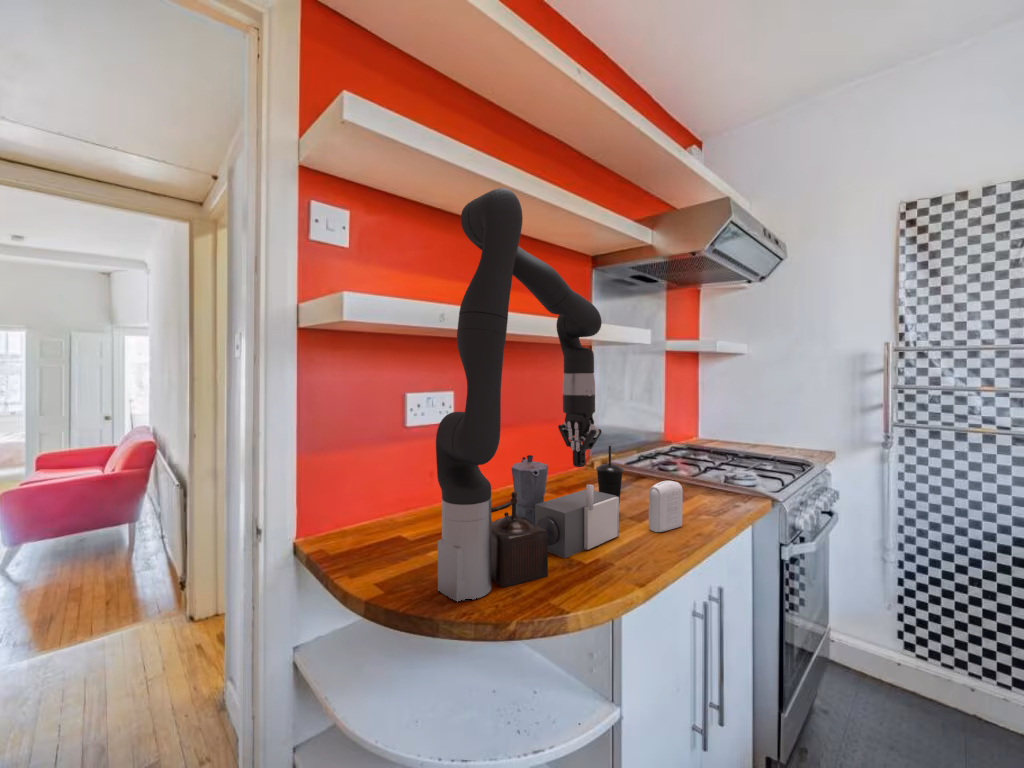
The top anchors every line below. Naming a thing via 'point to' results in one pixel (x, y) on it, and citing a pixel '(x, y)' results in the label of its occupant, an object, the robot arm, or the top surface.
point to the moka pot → (529, 486)
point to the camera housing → (565, 521)
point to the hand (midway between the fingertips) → (579, 466)
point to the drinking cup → (610, 478)
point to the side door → (600, 520)
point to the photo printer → (665, 506)
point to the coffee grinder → (517, 548)
